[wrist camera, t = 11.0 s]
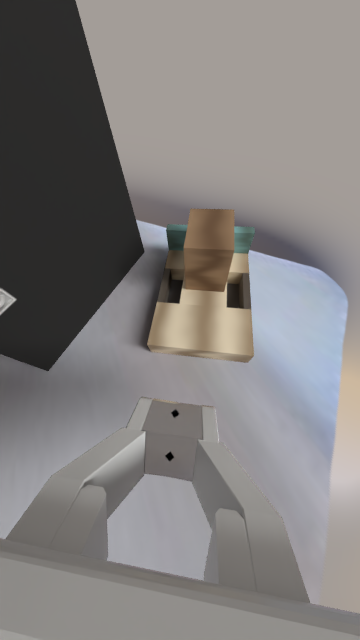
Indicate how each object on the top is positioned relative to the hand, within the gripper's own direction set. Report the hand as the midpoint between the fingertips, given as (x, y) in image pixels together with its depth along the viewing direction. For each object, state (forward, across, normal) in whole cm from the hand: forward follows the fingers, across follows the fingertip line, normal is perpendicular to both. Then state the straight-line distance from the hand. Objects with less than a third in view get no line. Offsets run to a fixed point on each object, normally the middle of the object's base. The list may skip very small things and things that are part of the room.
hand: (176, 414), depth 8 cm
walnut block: (+26, -2, -6) cm, 27 cm away
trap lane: (+26, -2, -1) cm, 26 cm away
